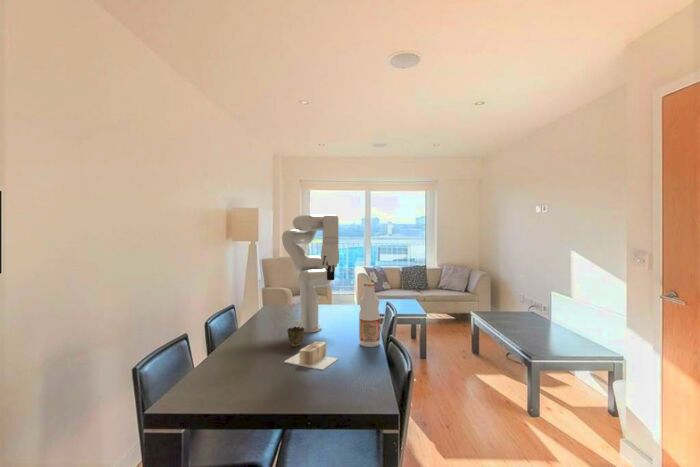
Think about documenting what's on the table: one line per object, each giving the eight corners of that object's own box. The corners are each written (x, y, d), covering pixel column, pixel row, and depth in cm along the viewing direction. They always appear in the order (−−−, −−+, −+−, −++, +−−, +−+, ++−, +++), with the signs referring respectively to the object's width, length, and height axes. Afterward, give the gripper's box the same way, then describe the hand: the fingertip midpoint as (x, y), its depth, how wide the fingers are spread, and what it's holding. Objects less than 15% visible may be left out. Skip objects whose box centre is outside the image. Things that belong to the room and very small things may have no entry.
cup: (284, 347, 153) (284, 329, 153) (294, 342, 159) (294, 325, 159) (297, 350, 149) (297, 331, 149) (307, 345, 156) (307, 327, 156)
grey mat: (283, 362, 135) (283, 361, 135) (301, 352, 146) (301, 351, 146) (322, 370, 127) (322, 369, 127) (338, 359, 138) (338, 358, 138)
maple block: (316, 353, 144) (299, 362, 134) (315, 341, 144) (299, 349, 134) (326, 354, 142) (310, 364, 132) (326, 342, 142) (310, 351, 132)
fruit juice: (355, 343, 158) (355, 282, 158) (371, 339, 163) (371, 281, 163) (367, 349, 150) (367, 285, 150) (384, 345, 155) (383, 283, 155)
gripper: (331, 240, 169) (331, 277, 169) (315, 241, 156) (315, 281, 156) (344, 240, 166) (345, 278, 166) (329, 241, 153) (329, 282, 153)
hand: (330, 279), depth 161 cm, fingers closed
